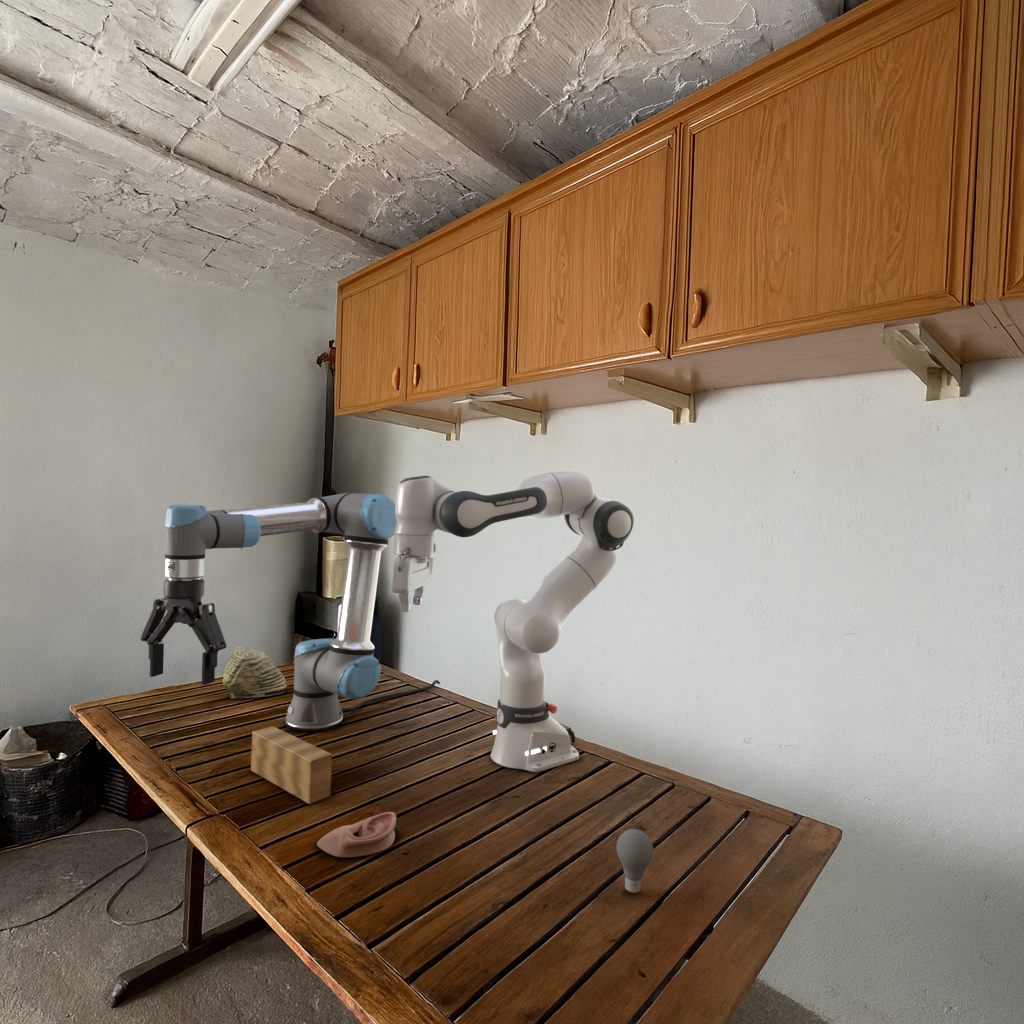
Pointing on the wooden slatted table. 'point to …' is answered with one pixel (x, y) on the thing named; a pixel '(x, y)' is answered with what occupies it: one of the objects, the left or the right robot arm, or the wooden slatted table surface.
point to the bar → (291, 764)
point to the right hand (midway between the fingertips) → (411, 607)
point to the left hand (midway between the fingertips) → (181, 679)
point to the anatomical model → (361, 837)
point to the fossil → (252, 674)
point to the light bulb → (634, 857)
